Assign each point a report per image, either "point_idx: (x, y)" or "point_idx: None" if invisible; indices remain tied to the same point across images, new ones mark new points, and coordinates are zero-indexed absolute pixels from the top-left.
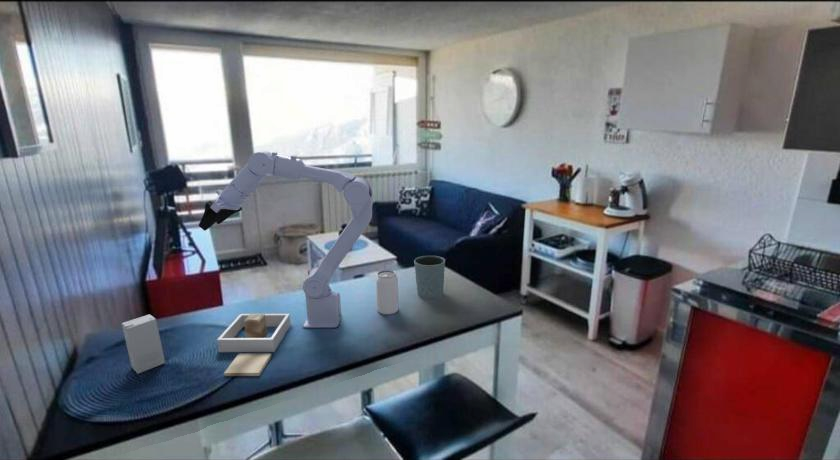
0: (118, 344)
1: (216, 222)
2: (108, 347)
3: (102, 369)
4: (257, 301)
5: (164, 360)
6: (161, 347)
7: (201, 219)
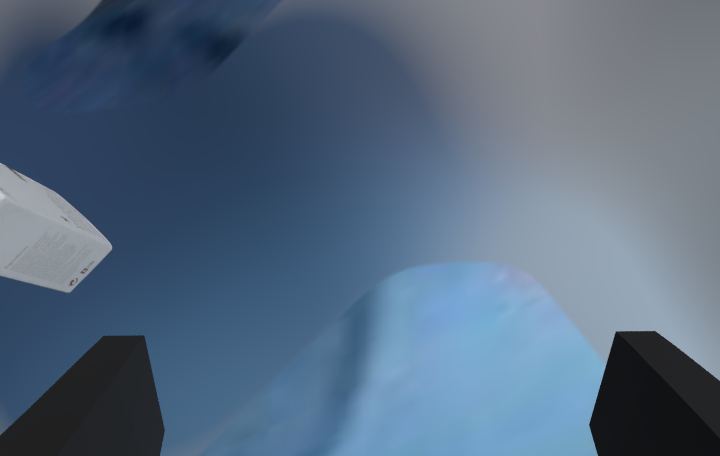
0: (221, 48)
1: (598, 398)
2: (202, 28)
3: (59, 101)
4: None
5: (63, 291)
6: (30, 283)
7: (9, 428)
